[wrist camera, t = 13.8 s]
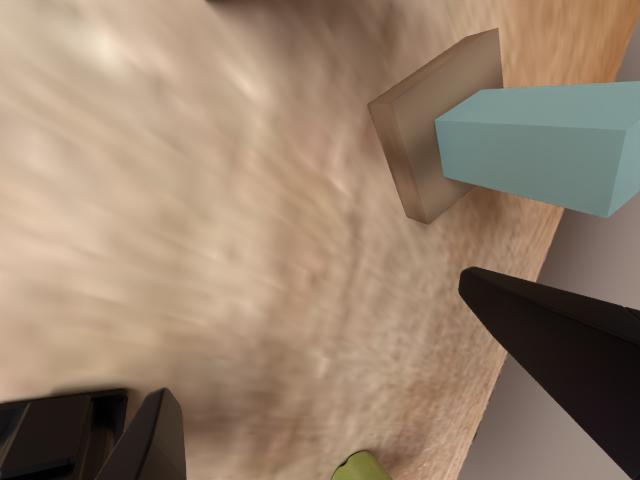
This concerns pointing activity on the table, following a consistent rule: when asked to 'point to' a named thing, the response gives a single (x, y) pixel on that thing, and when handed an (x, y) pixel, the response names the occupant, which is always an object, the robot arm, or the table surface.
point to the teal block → (548, 143)
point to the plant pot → (361, 468)
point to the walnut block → (432, 121)
